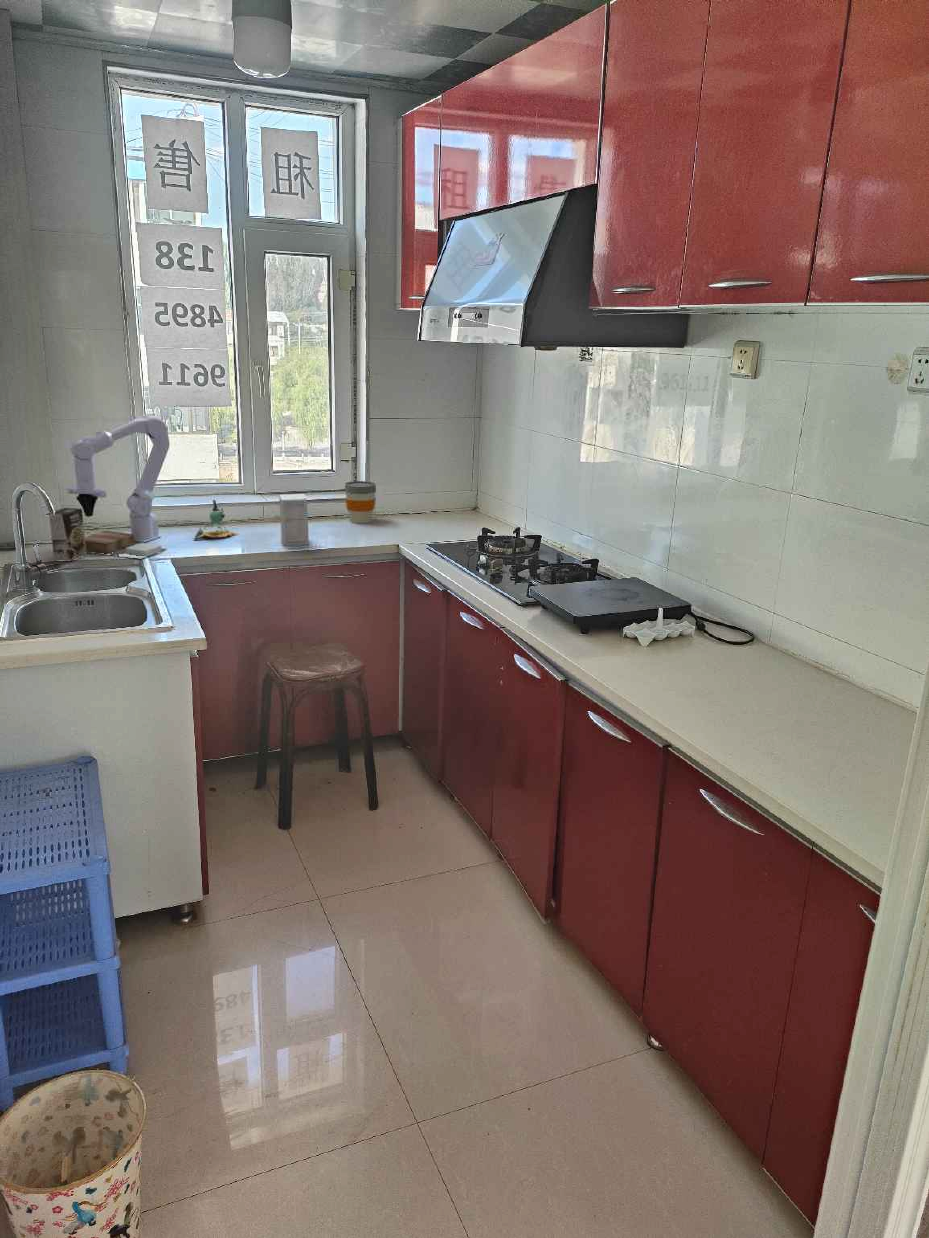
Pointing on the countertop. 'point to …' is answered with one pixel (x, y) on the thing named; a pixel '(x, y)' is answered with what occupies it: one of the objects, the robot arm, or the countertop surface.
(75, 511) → the coffee box
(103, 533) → the flat brown box
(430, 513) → the countertop surface
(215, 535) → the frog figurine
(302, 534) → the supplement box
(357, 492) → the reusable coffee cup
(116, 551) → the mat
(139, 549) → the tile
